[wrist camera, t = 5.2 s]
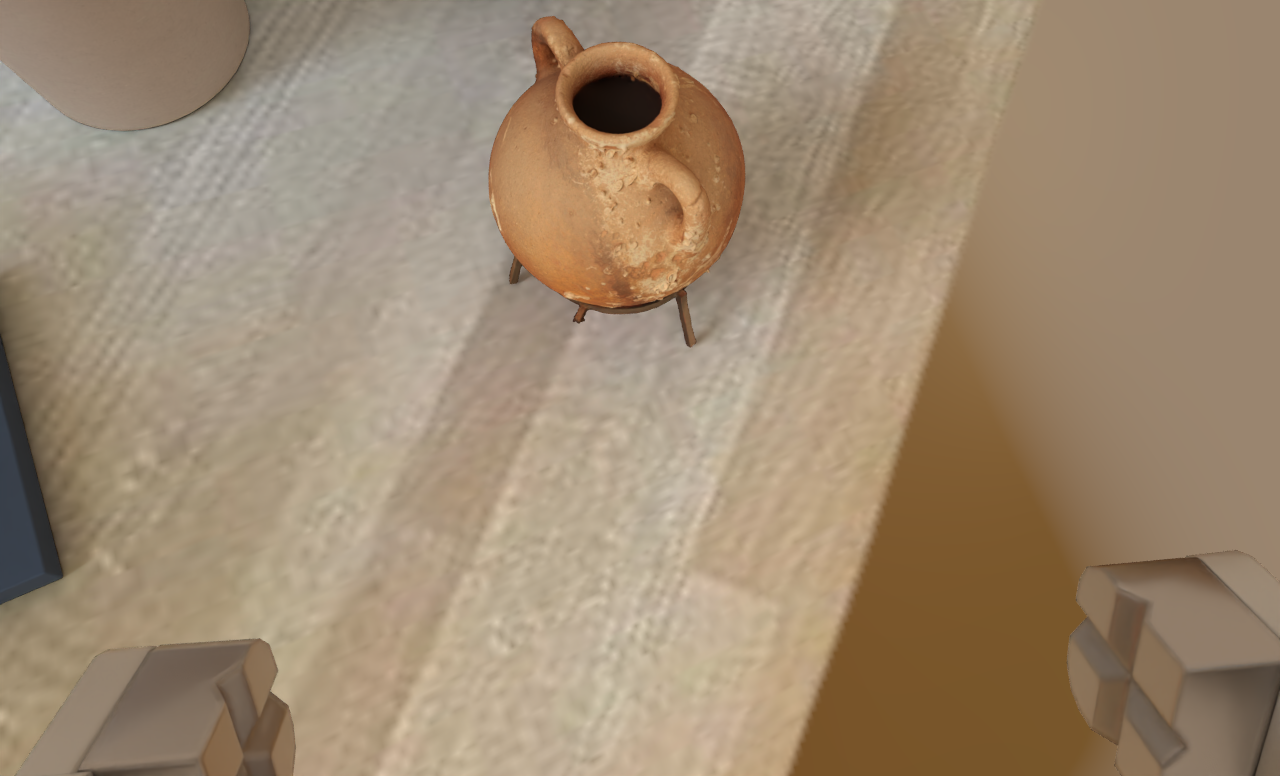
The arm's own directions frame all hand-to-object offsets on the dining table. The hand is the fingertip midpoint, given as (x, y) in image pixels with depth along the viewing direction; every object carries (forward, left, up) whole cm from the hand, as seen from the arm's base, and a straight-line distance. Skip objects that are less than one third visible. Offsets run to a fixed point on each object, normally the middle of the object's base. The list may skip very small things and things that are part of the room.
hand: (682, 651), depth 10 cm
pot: (-11, +4, -14) cm, 18 cm away
